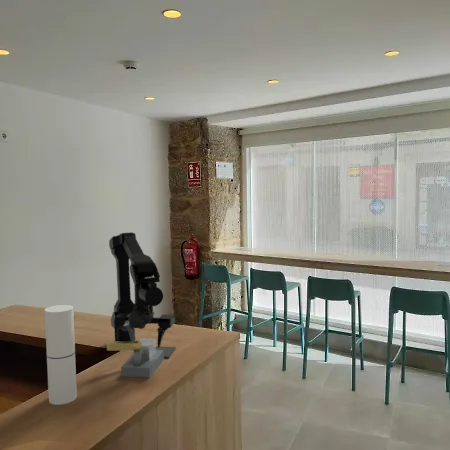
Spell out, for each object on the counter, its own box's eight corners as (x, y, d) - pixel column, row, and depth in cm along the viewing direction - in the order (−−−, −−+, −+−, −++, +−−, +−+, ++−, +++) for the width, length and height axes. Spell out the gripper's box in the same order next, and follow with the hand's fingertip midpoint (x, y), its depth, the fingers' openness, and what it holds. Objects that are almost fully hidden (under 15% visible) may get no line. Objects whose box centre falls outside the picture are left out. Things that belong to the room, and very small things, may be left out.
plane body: (121, 376, 134) (120, 352, 133) (138, 357, 148) (137, 335, 148) (149, 377, 132) (149, 353, 132) (164, 358, 147) (163, 336, 146)
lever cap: (134, 359, 139) (133, 345, 138) (141, 351, 146) (141, 338, 145) (149, 360, 138) (149, 346, 138) (156, 352, 145) (155, 338, 145)
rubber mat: (134, 356, 149) (134, 355, 149) (143, 347, 158) (143, 345, 158) (168, 358, 147) (168, 356, 147) (175, 348, 156) (175, 347, 156)
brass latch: (140, 350, 133) (140, 343, 133) (106, 350, 133) (106, 343, 133) (142, 347, 135) (142, 340, 135) (108, 347, 136) (108, 340, 135)
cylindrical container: (50, 407, 115) (46, 313, 113) (47, 396, 121) (43, 307, 119) (78, 400, 118) (75, 309, 116) (74, 390, 125) (71, 303, 123)
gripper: (105, 304, 134) (107, 354, 135) (165, 306, 131) (166, 357, 132) (119, 295, 145) (121, 341, 146) (174, 297, 142) (175, 344, 143)
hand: (145, 346), depth 142 cm, fingers open, 9 cm apart
